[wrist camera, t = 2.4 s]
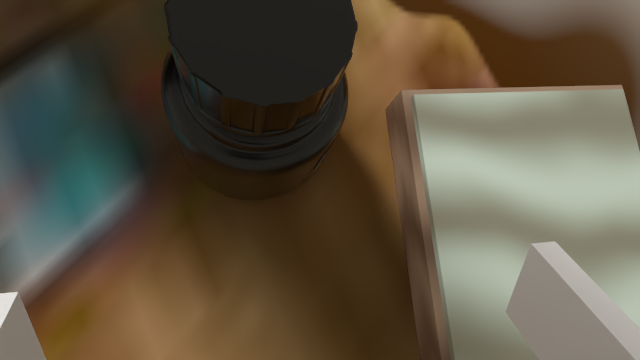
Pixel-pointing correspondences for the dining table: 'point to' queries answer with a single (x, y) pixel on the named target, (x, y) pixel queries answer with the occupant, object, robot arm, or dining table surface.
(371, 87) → the dining table surface
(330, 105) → the ink bottle
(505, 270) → the mat platform
